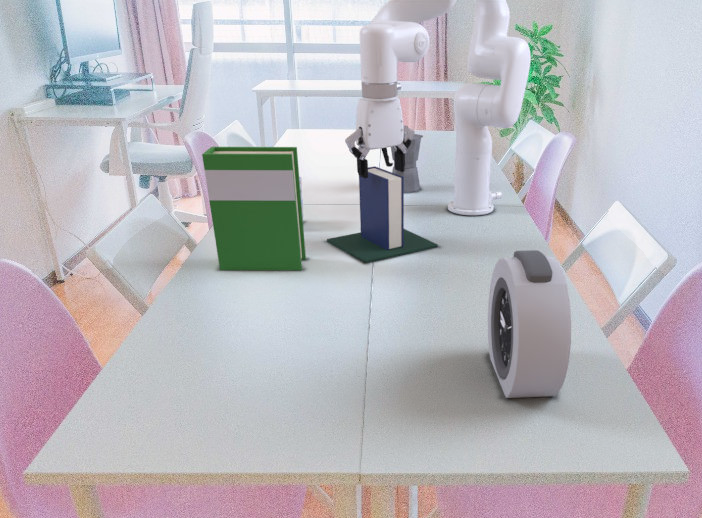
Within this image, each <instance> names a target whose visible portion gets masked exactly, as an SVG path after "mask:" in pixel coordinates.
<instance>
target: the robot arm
mask: <svg viewBox="0 0 702 518" xmlns="http://www.w3.org/2000/svg"><path fill="white" fill-rule="evenodd" d="M457 1H458V0H388V1H386V3H384V5H383V6H382V7H381V8H380V9H379V10H378V12H377V13H376V14H375V16H374V17H373V18H372V20H371V21H370V23H369V24H365V25H363V26H361V28H360V30H359V55H360V80H361V98H358V101H357V106H356V115H355V116H356V117H355V131H354V132H352V133H351V134H350V135H349V136H347V137H346V138H345V139H344V142H345V144H346V146H347V148H348V150H349V152H350V153H351V155H353V156H354V158H356V171H357V174H358V177H359V176H360V177H363V178H368V167H369V162H368V161H369V160H368V159H366V157H367V156H368V154H369V152H370V151H371V150H372V151H373V150H379V149H381V148H387V149H388V148H391V147H393V146H394V147H395V149H396V150H397V151H395V153H394V160H393V167H394V168H395V170H398V171H400V172H404V166H405V153H406V152H407V149H408V147H409V146H410V144H411V140H412V138H413V136H414V134H416V133H415V132H416V131H415V130H414V129H412V128H410V127H409V126H407V125H405V124H404V118H403V109H402V103H401V100H400V97H399V96H398V91H401V90H402V84H401V83H400V82H398V62H402V63H415V62H418V61H420V60H422V59H424V58H425V56H426V55H427V53H428V51H429V48H430V45H431V44H430V39H431V38H430V36H429V35H430V34H429V32H428V31H427V29H426V28H425V27H424V26H423V25H422V24H420V23H424V22H427V21H430V20H433V19H436V18H438V17H441V16H444V15H446V14H448V13H449V12H450V11H451V10H452V9H453V7H454V5H455V4H456V3H457ZM473 5H474V20H473V21H474V22H473V27H472V32H471V38H470V43H469V49H468V55H467V70H468V72H469V74H470V75H471V76H474V77H476V78H480V79H489V80H499V81H500V85H498V84H497V85H496V84H491V83H490V84H489V83H476V82H470V83H466V84H465V83H464V84H463V85H462V86H460V87H459V88H458V89H457V90H456V92H455V94H454V96H453V97H454V98H453V114H454V120H455V158H454V159H455V160H454V182H453V183H454V184H453V200H452V201H450V202H449V203H448V204H447V210H448V211H450V213H453V214H457V215H463V216H482V215H483V216H484V215H487V214H490V213H492V212H493V211H494V207H495V206H494V204H493V203H492V202H493V201H494V200H499V199H502V197H503V194H502V192H501V191H495V192H493V191H491V190H490V185H491V184H490V183H491V182H490V181H491V169H492V168H491V167H492V152H493V138H492V135H491V133H490V130H489V128H488V127H491V128H497V129H498V128H499V129H508V128H512V127H513V126H514V125H515V124H516V123H517V122H518V120H519V118H520V114H521V111H522V106H523V101H524V97H525V93H526V88H527V84H528V80H529V79H528V78H529V73H530V69H531V62H532V61H531V58H532V57H531V49H530V46H529V43H528V42H527V41H526V40H525V39H523V38H521V37H517V36H508V31H509V25H510V20H511V19H510V15H511V13H510V8H509V5H508V2H507V0H473ZM406 126H407V127H406ZM404 133H405V134H406V136H405V139H404V140H403V136H404ZM355 143H356V144H355ZM356 145H357V146H358V147H357V146H356Z"/></svg>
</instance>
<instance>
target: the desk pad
mask: <svg viewBox="0 0 702 518" xmlns="http://www.w3.org/2000/svg"><path fill="white" fill-rule="evenodd" d="M326 242H327V243H329V244H331V245H332V246H334V247H336V248H337V249H339V250H341V251H343V252H345V253H346V254H348V255H350V256H352V257H353V258H355V259H357V260H358V261H361V262H362V263H364V264H368V263H373V262H374V263H375V262H378V261H383V260H387V259H390V258H395V257H396V258H397V257H400V256H403V255H408V254H413V253H417V252H422V251H426V250H430V249H431V250H432V249H435V248H438V246H439V244H437V243H436V242H433V241H431V240H429V239H427V238H425V237H422V236H421V235H418V234H416V233H415V232H412V231H409V230H407V229H405V228H404V247H396V248H392V249H389V250H386V249H384V248H382V247H380V246H378V245H376V244H374V243H372V242H370V241H369V240H367V239H365V238H363V237H361V231H360V232H356V233H350V234H346V235H341V236H335V237H330V238H327V239H326Z"/></svg>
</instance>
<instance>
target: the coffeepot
mask: <svg viewBox="0 0 702 518" xmlns="http://www.w3.org/2000/svg"><path fill="white" fill-rule="evenodd" d="M405 126H406V127H408V126H407V125H405ZM405 136H406V134H405V133H404V136H403V140H404V139H405ZM422 138H424V135H422V134H418V133H414V136H413V138H412V140H411V144H410V146H409V147H408V149H407V152H406V153H405V166H404V172H400V171H398V170H395V168H394V162H390V155H389V153H388V147H387V148H380V149H381V152H382V156H383V159H384V163H385V166H386V167H387V168H390V167H392V170H391V172H392V173H394V174H397V175H400V176H403V177H404V194H408V193H415V192H418V191H419V190H420V189H421V184H420V178H419V170H418V166H417V161H419V154H420V147H421V143H422ZM390 150H391V152H390V153H391V158H392V161H394V153H395V151H397V150H396V149H395V147H394V146H393V147H390Z"/></svg>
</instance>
